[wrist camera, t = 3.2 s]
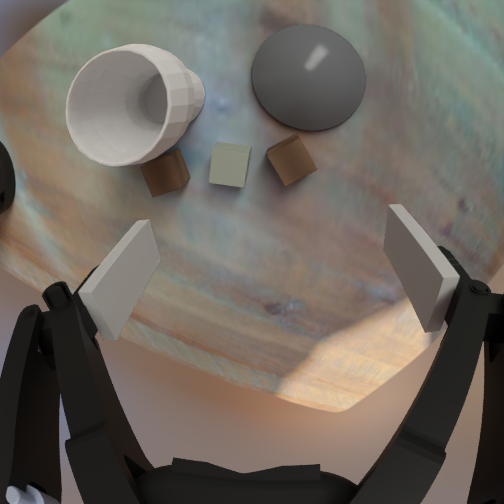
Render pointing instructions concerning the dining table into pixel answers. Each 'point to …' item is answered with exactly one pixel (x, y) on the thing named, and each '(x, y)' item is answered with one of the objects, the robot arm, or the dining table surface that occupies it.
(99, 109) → the cup
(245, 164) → the block
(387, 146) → the dining table surface
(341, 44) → the coaster
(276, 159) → the block
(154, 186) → the block
